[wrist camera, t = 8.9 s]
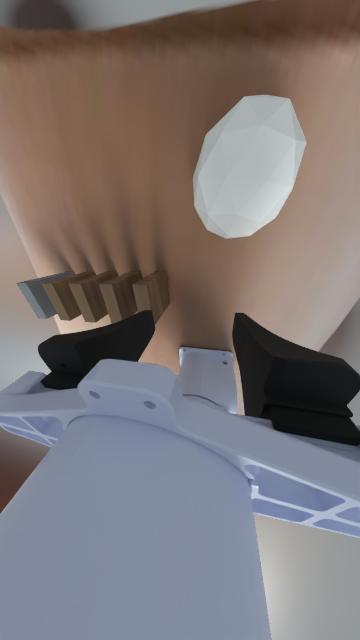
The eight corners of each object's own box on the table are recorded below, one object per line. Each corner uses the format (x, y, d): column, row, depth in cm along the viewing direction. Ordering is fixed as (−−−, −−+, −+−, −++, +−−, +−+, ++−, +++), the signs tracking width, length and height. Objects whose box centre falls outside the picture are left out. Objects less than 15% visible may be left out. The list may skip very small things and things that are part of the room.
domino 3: (116, 271, 22) (80, 284, 16) (124, 301, 24) (95, 322, 18) (107, 271, 22) (68, 284, 16) (116, 301, 24) (85, 321, 18)
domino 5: (166, 271, 20) (146, 284, 14) (169, 303, 22) (153, 326, 17) (155, 271, 20) (132, 284, 14) (160, 303, 23) (141, 325, 17)
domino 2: (94, 271, 22) (51, 283, 16) (104, 301, 25) (70, 320, 19) (86, 271, 23) (41, 283, 17) (96, 300, 25) (60, 319, 19)
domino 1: (78, 299, 26) (38, 318, 20) (66, 272, 24) (16, 283, 18) (85, 300, 26) (47, 318, 20) (73, 271, 23) (25, 283, 17)
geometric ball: (214, 198, 17) (169, 131, 11) (301, 143, 12) (308, -40, 6) (217, 260, 17) (173, 228, 11) (305, 230, 12) (318, 139, 6)
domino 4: (140, 271, 21) (111, 284, 15) (146, 302, 23) (123, 324, 17) (130, 271, 21) (98, 284, 15) (137, 302, 24) (111, 323, 18)
